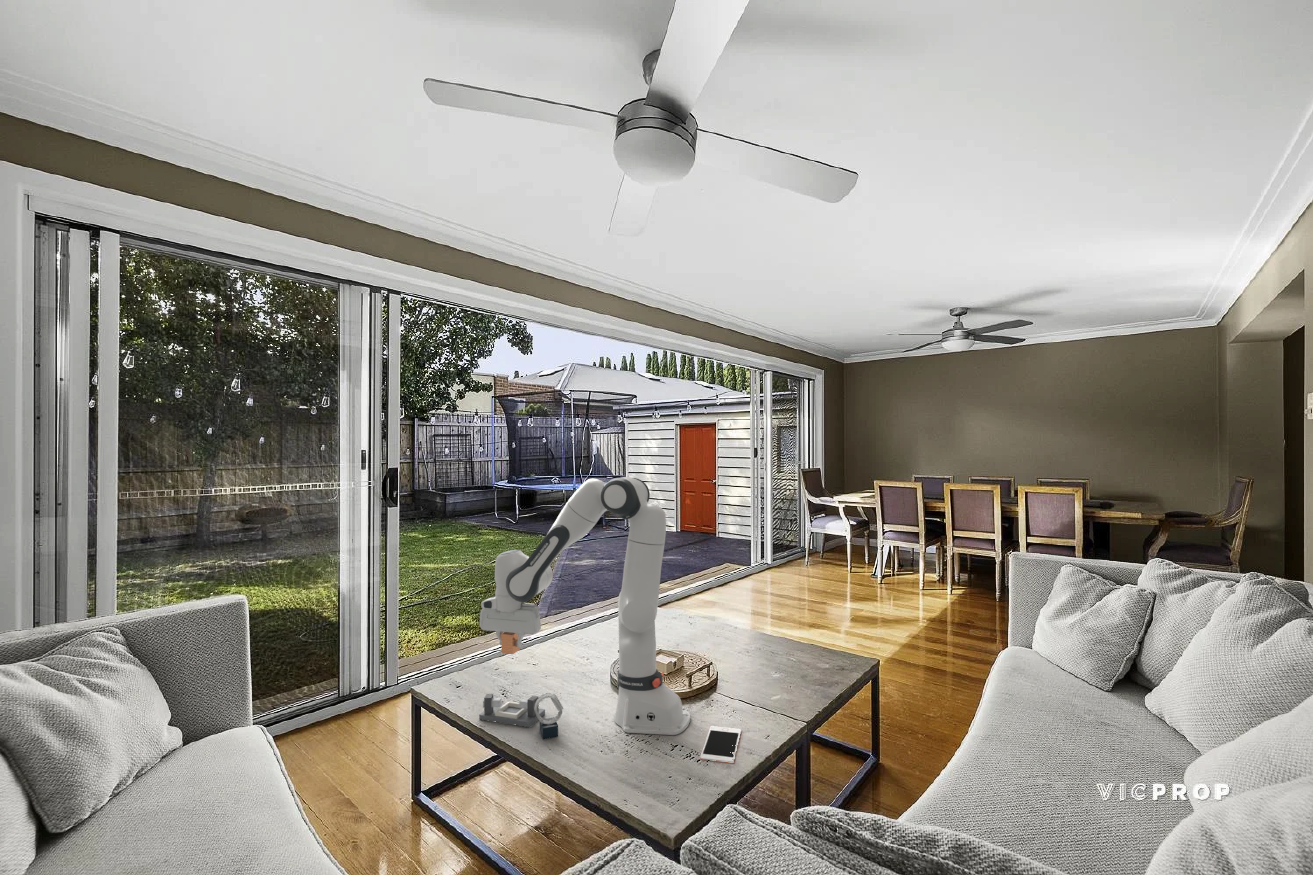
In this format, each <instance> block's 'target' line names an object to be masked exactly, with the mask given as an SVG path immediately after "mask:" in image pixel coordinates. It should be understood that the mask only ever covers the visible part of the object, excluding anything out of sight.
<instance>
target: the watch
mask: <svg viewBox="0 0 1313 875" xmlns="http://www.w3.org/2000/svg"><path fill="white" fill-rule="evenodd" d="M549 698H550V700H551V702H552V704H553V705H554V706H555V708H556V710H557V711H558V712H557V715H555V717H547V718H543V716H542V717H541V716H540V715H539V713H538V710H537V706H538V704H539V705H540V703H541V702H542V701H543V700H545V699H549ZM534 708H535V709H534V710H535V713H536V716H537V718H538V721H539V723H538V724H539V726H538V728H539V732H540V733H539V734H540V736H541V739H542V740H548V739H553V738H559V724H558V721H559V720H560V718H561V717H562V715H563V710H564V706H563V705H562V702H561V701H560V699H559V698H558V696H557V695H556V694H555V693H551V692H547V693H544V694H541V695H540V696H538V699H537V701H536V702H535V706H534Z"/></svg>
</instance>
